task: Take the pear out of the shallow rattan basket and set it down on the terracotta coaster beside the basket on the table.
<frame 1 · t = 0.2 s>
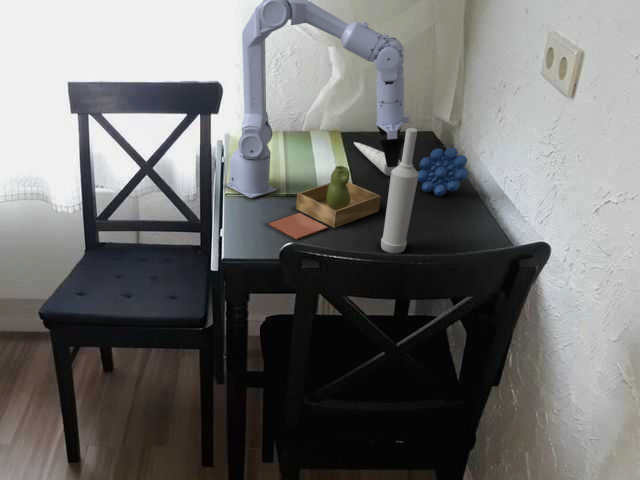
hand: (391, 160, 167), 11 cm above the table, tool pointing down, fingers open, 7 cm apart
coaster: (298, 226, 163), on the table
bottle: (392, 248, 155), on the table
pear: (337, 209, 170), resting on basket
grapes: (438, 195, 178), on the table
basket: (337, 210, 170), on the table
unicorn horn: (372, 162, 196), on the table
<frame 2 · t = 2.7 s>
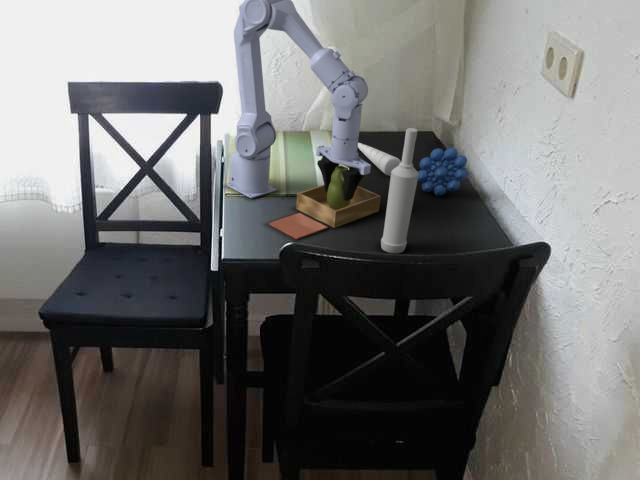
hand: (338, 194, 168), 4 cm above the table, tool pointing down, fingers closed on pear, 5 cm apart
pear: (337, 209, 170), resting on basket, touching gripper
everything else where it was.
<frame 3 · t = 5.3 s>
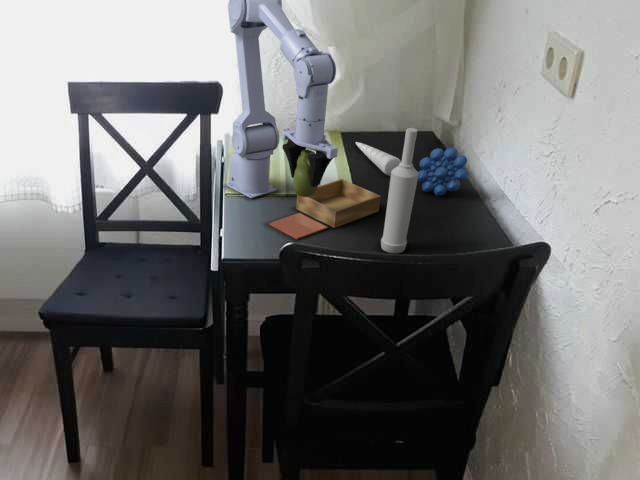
hand: (305, 180, 158), 10 cm above the table, tool pointing down, fingers closed on pear, 5 cm apart
pear: (304, 196, 160), point 7 cm above the table, touching gripper
everything else where it was.
when the fingers open (4 cm above the table, at t = 7.8 s): pear stays where it is, resting on coaster.
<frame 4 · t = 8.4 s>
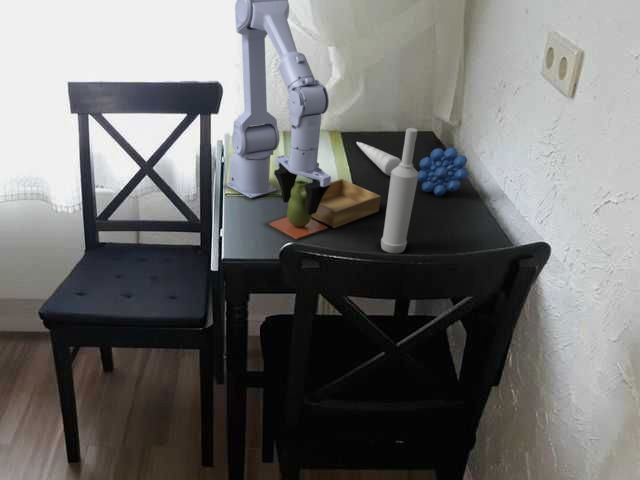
hand: (299, 207, 160), 5 cm above the table, tool pointing down, fingers open, 7 cm apart
pear: (298, 225, 163), resting on coaster
everything else where it was.
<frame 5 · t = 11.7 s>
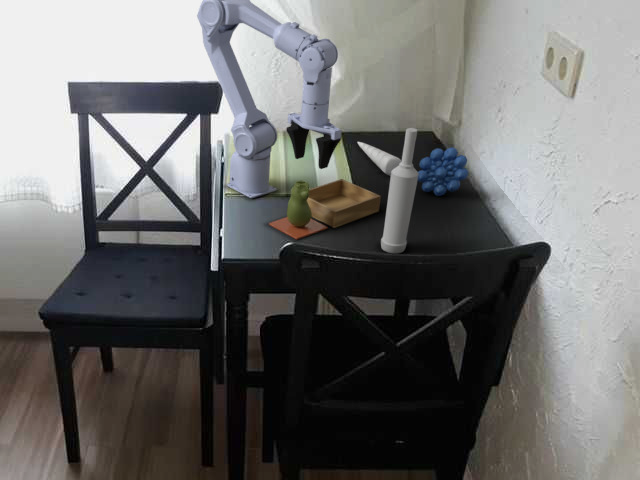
hand: (311, 162, 166), 10 cm above the table, tool pointing down, fingers open, 7 cm apart
nothing on the table moved.
at the end: pear inside the target area on the coaster (0.1 cm from its centre), point 0.2 cm above the coaster's base; pear touching coaster; the gripper is holding nothing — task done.
